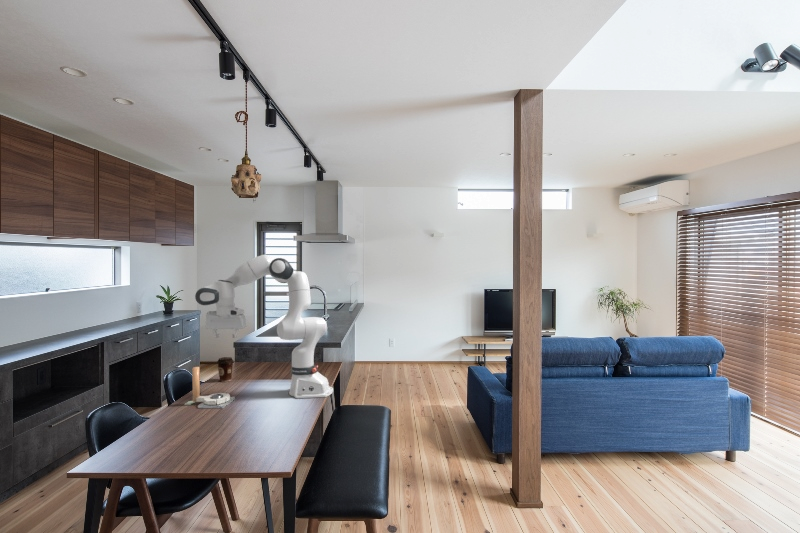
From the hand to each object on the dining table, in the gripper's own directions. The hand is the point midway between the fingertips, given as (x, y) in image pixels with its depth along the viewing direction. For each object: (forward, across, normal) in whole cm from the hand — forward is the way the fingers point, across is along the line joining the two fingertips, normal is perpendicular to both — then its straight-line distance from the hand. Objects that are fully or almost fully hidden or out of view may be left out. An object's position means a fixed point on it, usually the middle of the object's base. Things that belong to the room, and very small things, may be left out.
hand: (225, 337), depth 202 cm
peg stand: (+28, 0, -15) cm, 31 cm away
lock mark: (+29, -10, -15) cm, 34 cm away
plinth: (+29, +3, -15) cm, 33 cm away
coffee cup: (+29, -12, +22) cm, 39 cm away
